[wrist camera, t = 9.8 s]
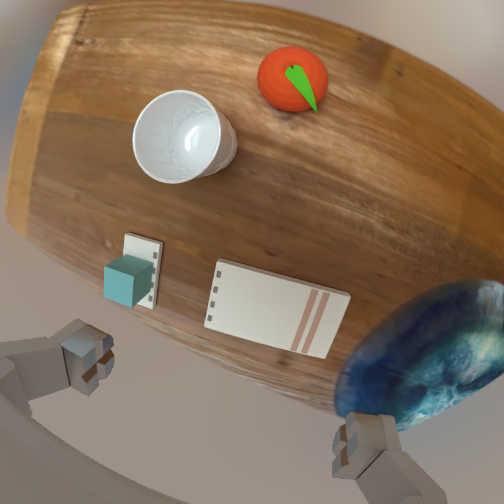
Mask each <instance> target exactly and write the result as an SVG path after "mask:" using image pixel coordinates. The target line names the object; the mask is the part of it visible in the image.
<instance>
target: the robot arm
mask: <svg viewBox="0 0 504 504" xmlns="http://www.w3.org/2000/svg"><path fill="white" fill-rule="evenodd" d="M113 346H114V343H113V337H112V336H111V335H109V334H107V333H104V332H103V331H101V330H99V329H97V328H95V327H93V326H91V325H89V324H87V323H85V322H83V321H82V320H80V319H76V320H74V321H72V322H71V323H69V324H68V325H67V326H65V327H64V328H62V329H61V330H60V331H58V332H57V333H55V334H54V335H53V336H51V337H50V338H47V337H40V338H32V339H24V340H17V341H8V342H0V504H189V503H186V502H183V501H181V500H178V499H175V498H173V497H170V496H167V495H165V494H162V493H160V492H158V491H155V490H153V489H150V488H148V487H146V486H143V485H141V484H139V483H137V482H135V481H133V480H131V479H129V478H127V477H125V476H123V475H121V474H119V473H117V472H115V471H113V470H111V469H109V468H107V467H106V466H104V465H102V464H100V463H98V462H97V461H95V460H93V459H91V458H90V457H88V456H86V455H85V454H83V453H82V452H80V451H78V450H77V449H75V448H74V447H72V446H71V445H69V444H68V443H66V442H65V441H63V440H62V439H60V438H59V437H57V436H56V435H55V434H53V433H52V432H50V431H49V430H47V429H46V428H45V427H44V426H42V425H41V424H40V423H38V422H37V421H36V420H35V419H33V418H32V417H31V415H32V410H31V408H30V405H29V403H28V401H29V400H32V399H35V398H39V397H42V396H44V395H48V394H51V393H54V392H57V391H60V390H63V389H66V388H69V387H70V386H71V387H72V388H74V389H76V390H78V391H80V392H81V393H83V394H85V395H87V396H90V395H91V394H92V392H93V391H94V390H95V389H96V388H97V387H98V386H99V380H101V379H105V378H107V376H108V375H109V374H110V373H111V370H112V368H113V365H114V354H113V353H112V351H111V348H112V347H113ZM345 419H346V424H344V425H342V426H340V427H339V429H338V430H337V432H336V434H335V437H334V440H333V445H332V449H333V450H332V451H333V453H334V454H335V456H336V458H335V459H334V461H333V462H332V477H333V478H341V479H350V480H356V483H357V485H358V486H359V488H360V490H361V492H362V493H363V495H364V496H365V498H366V500H367V501H368V503H369V504H448V503H447V498H446V494H445V491H444V490H443V489H442V488H440V486H439V485H437V483H436V482H435V481H434V480H433V479H432V478H431V477H430V476H429V475H428V474H427V473H426V472H425V471H424V470H423V469H422V468H421V467H420V466H419V465H418V464H417V463H416V462H415V461H414V460H413V459H412V458H411V457H410V456H409V455H408V454H407V453H406V452H402V449H401V444H400V440H399V435H398V431H397V427H396V423H395V419H394V417H393V416H389V415H380V414H379V415H378V414H371V413H363V412H356V411H351V412H350V413H349V414H348V415H347V417H346V418H345Z"/></svg>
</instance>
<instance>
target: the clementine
mask: <svg viewBox="0 0 504 504" xmlns="http://www.w3.org/2000/svg"><path fill="white" fill-rule="evenodd" d="M257 79H258V86H259V89H260V91H261V93H262V95H263V96H264V97H265V99H266V100H267V101H268V102H269V103H271V104H272V105H274V106H275V107H277V108H279V109H282V110H284V111H291V112H297V111H303V110H306V109H309V108H311V107H312V108H313V109H314V111H315V112H316V114H317V107H316V104H317V103H318V102H319V101H320V100H321V99H322V98H323V96H324V95H325V92H326V90H327V86H328V76H327V71H326V68H325V66H324V64H323V62H322V61H321V60H320V59H319V58H318V57H317V56H316V55H315V54H313V53H312V52H310V51H308V50H305V49H303V48H300V47H283V48H280V49H277V50H275V51H273V52H272V53H270V54H269V55H267V56H266V58H265V59H264V60H263V61H262V63H261V65H260V67H259V69H258V76H257Z"/></svg>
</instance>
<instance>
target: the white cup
mask: <svg viewBox="0 0 504 504" xmlns="http://www.w3.org/2000/svg"><path fill="white" fill-rule="evenodd" d="M237 147H238V140H237V135H236V131H235V129H234V128H233V127H232V126H231V124H230V123H229V121H228V120H227V119H226V117H225V116H224V115H223V114H222V113H221V112H220V111H219V110H218V109H216V108H215V107H214V106H213V105H212V104H211V103H210V102H209V101H208V100H207V99H206V98H204V97H203V96H201V95H199V94H197V93H195V92H192V91H187V90H175V91H170V92H167V93H164V94H162V95H160V96H158V97H156V98H155V99H153V100H152V101H151V102H150V103H149V104H148V105H147V106H146V107H145V108H144V109H143V111H142V112H141V114H140V115H139V117H138V119H137V122H136V124H135V127H134V132H133V150H134V154H135V157H136V160H137V162H138V163H139V165H140V167H141V168H142V169H143V170H144V171H145V172H146V173H147V174H148V175H149V176H150V177H152V178H154V179H156V180H158V181H160V182H164V183H182V182H186V181H189V180H193V179H197V178H201V177H205V176H208V175H211V174H213V173H216V172H218V171H220V170H222V169H224V168H226V167H227V166H228V165H229V163H230V162H231V161H232V160H233V159H234V157H235V155H236V151H237Z"/></svg>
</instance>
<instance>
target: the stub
mask: <svg viewBox="0 0 504 504" xmlns="http://www.w3.org/2000/svg"><path fill="white" fill-rule="evenodd" d="M162 248H163V242H160V241H156V240H153V239H150V238H146V237H143V236H139V235H136V234H132V233H127V234H125V241H124V252H123V256H122V257H120V258H118V259H117V260H115V261H113V262H111V263H109V264H108V265H106V266H105V270H104V297H105V298H107V299H110V300H112V301H115V302H117V303H120V304H122V305H125V306H128V307H130V308H132V307H134V306H135V305H136V304H139V305H142V306H145V307H148V308H150V309H153V308H154V307H155V306H156V297H157V288H158V279H159V271H160V263H161V255H162Z"/></svg>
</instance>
